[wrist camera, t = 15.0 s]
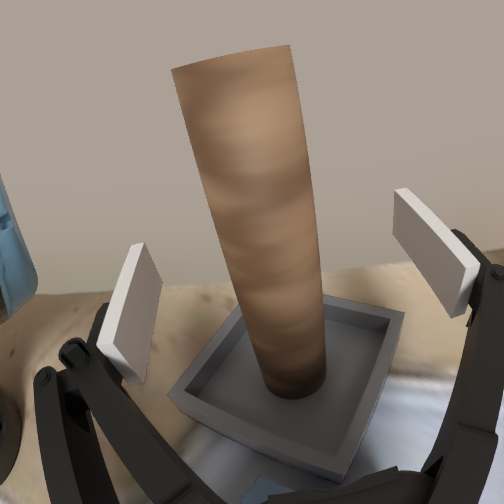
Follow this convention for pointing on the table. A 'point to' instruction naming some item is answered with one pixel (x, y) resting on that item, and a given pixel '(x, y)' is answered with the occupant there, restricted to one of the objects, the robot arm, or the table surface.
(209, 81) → the dowel
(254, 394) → the tray
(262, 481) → the open box
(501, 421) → the table surface
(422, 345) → the table surface
